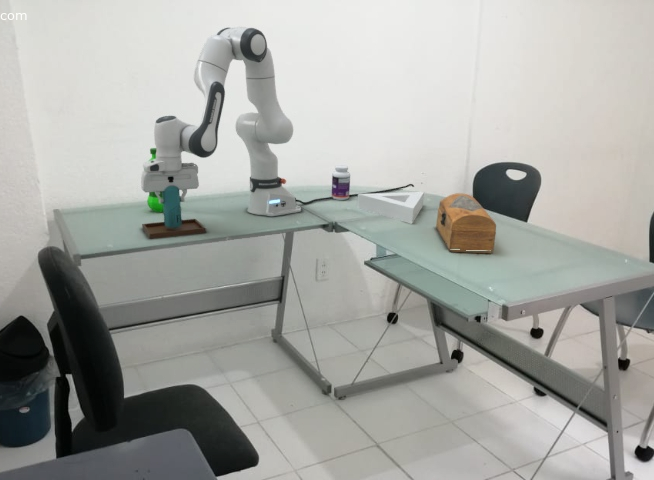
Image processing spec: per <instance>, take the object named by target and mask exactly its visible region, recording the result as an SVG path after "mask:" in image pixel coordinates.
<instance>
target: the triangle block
mask: <svg viewBox="0 0 654 480" xmlns="http://www.w3.org/2000/svg"><path fill="white" fill-rule="evenodd" d="M357 194H358V196H357V204H356V208H357V209H358V210H361V211H365V212H370V213H372V214H376V215H379V216H383V217H386V218H390V219H393V220H397V221H400V222H404V223H408V224H410V225H412V224H414V222H415V220H416V218H417V217H418V215H419V213H420V211H421V210H422V208H423V207H424V200H425V199H424V197H425V191H411V192H410V191H408V192H406V191H405V192H382V193H373V194H361V193H357Z"/></svg>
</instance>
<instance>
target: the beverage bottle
mask: <svg viewBox="0 0 654 480" xmlns="http://www.w3.org/2000/svg"><path fill="white" fill-rule="evenodd" d="M168 180H169V182H173V180H174V177H168ZM162 196H163V199H164V203H163V210H164V212H162V213H163V215H162V216H163V222H165V226H166V227H170V228H175V227H180V226H181V225H182V220H183V218H182V209H181V208H182V206H181V203H182V202H180V196H181V194H180V190H179V188H177V187H176V186H169V187H167V188H166V189H165V191H162Z"/></svg>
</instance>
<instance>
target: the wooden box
mask: <svg viewBox="0 0 654 480" xmlns="http://www.w3.org/2000/svg"><path fill="white" fill-rule="evenodd" d="M435 224H436V225H435V228H436V230H437V232H438V233H439V235H440V237H441V239H442V241H443V242H444V244H445V246H446V248H447V250H448V251H449V252H451V253H472V254H493V253H494V248H495V243H496V242H495V240H496V234H497V224H496V222H495V220H494V219H493V218H492V217H491V215H490V214H488V212H487V211H486V210H485V208H484V207H483V206H482V205H481V203H479V201H478V200H476V198H474V197H473V196H472V195H470V194H467V193H460V192H459V193H458V192H457V193H453V194H450V195H448V196H446V197H444V198H443V199H441V200H440V201H439V206H438V209H437V217H436V223H435ZM446 243H447V244H446ZM447 245H448V246H447ZM448 247H449V248H448ZM450 249H460V250H450ZM466 250H491V251H466Z"/></svg>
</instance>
